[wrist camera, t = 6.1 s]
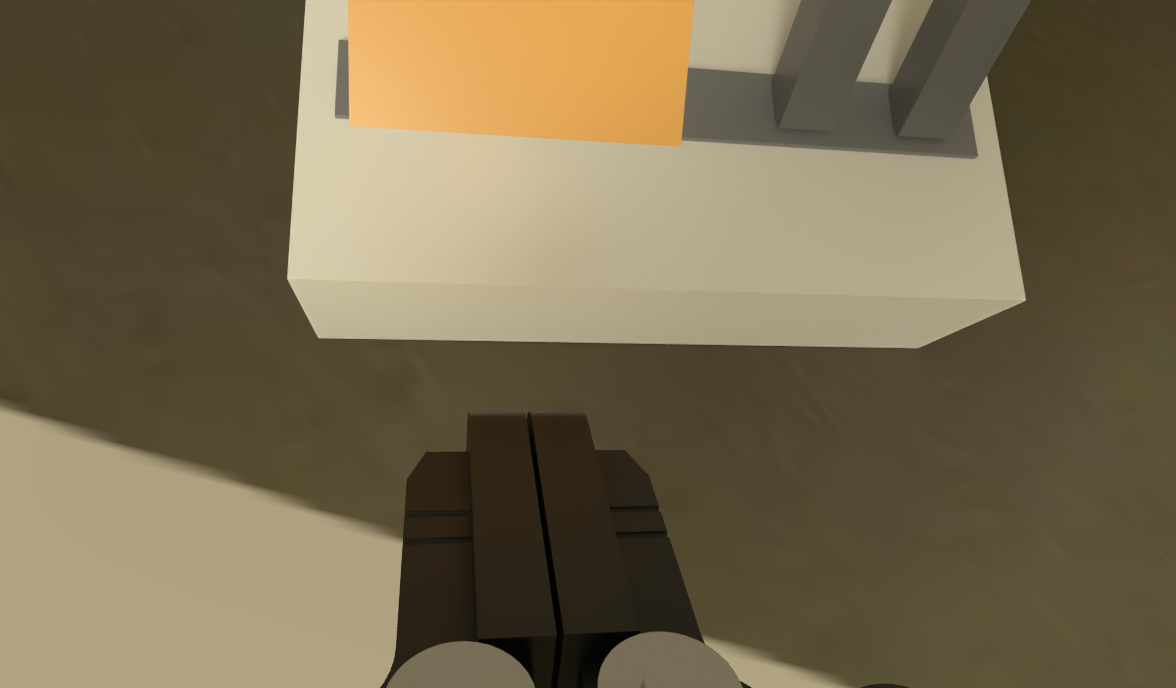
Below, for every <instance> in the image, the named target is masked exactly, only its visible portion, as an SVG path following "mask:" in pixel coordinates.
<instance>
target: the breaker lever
mask: <svg viewBox="0 0 1176 688" xmlns="http://www.w3.org/2000/svg"><path fill="white" fill-rule="evenodd" d="M693 6H694V0H348V55H349V126H357V127H373V128H389V129H406V130H422V131H438V132H454V133H470V134H486V135H502V136H518V137H534V138H550V139H566V140H582V141H599V142H615V143H631V144H647V145H663V146H679V147H681V140H682V129H683V117H684V106H685V95H686V84H687V73H688V62H689V51H690V40H691V29H692V17H693Z"/></svg>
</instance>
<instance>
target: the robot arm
mask: <svg viewBox="0 0 1176 688" xmlns="http://www.w3.org/2000/svg"><path fill="white" fill-rule="evenodd" d="M380 688H751V687H750V686H748V685H746V684H744V683H743V682H741V681H739V679H738V677H737V675H736V674H735V672H734V670H733V669H732V668H731V666H730V665H729V664H728V663H727V662H726V661H725V660H724V659H723V658H722V657H721V656H720V655H719V654H718V653H717V652H716V651H714V650H713V649H712V648H710V647H709V646H707V645H705V643H704V641H703V638H702V636H701V633H700V631H699V628H698V624H697V621H696V618H695V615H694V612H693V609H692V606H691V603H690V600H689V597H688V594H687V591H686V588H685V585H684V582H683V579H682V576H681V573H680V569H679V566H678V563H677V560H676V557H675V554H674V551H673V548H672V545H671V542H670V539H669V537H667V530H666V527H665V524H664V521H663V518H662V514H661V512H659V505H658V502H657V499H656V496H655V493H654V490H653V487H652V484H651V481H650V478H649V475H648V474H647V473H646V472H645V471H644V470H643V469H642V468H641V467H640V466H639V465H638V464H637V463H636V462H635V461H634V460H633V458H632V457H631V456H630V455H629V454H628V453H627V452H626V451H625V450H595V448H594V444H593V440H592V436H591V432H590V428H589V424H588V420H587V417H586V414H585V413H584V412H528V415H527V420H526V415H525V412H468V421H467V446H466V452H426V453H425V454H424V456H423V457H422V459H421V460H420V461H419V463H418V464H417V466H416V467H415V469H414V470H413V472H412V473H411V474H410V476H409V477H408V479H407V486H406V502H405V518H404V532H403V548H402V563H401V579H400V595H399V609H398V626H397V640H396V651H395V657H394V662H393V664H392V667H391V670H390V672H389V674H388V676H387V678H386V680H385V682H384V683H383V685H382V686H381V687H380ZM862 688H908V687H904V686H899V685H894V684H874V685H868V686H865V687H862Z"/></svg>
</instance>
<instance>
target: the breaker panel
mask: <svg viewBox="0 0 1176 688" xmlns="http://www.w3.org/2000/svg"><path fill="white" fill-rule="evenodd" d="M1030 1H1031V0H694V6H693V17H692V29H691V40H690V51H689V62H688V73H687V84H686V95H685V106H684V117H683V129H682V140H681V147H679V146H663V145H647V144H631V143H615V142H599V141H582V140H566V139H550V138H534V137H518V136H502V135H486V134H470V133H454V132H438V131H422V130H406V129H389V128H373V127H357V126H349V55H348V0H306V6H305V21H304V36H303V51H302V66H301V81H300V96H299V111H298V126H297V141H296V156H295V171H294V186H293V201H292V216H291V231H290V246H289V261H288V276H287V279H288V281H289V283H290V285H291V287H292V289H293V291H294V293H295V294H296V296H297V298H298V300H299V302H300V304H301V306H302V308H303V310H304V312H305V313H306V315H307V317H308V319H309V321H310V323H311V325H312V327H313V329H314V331H315V332H316V334H317V336H318V338H346V339H405V340H464V341H523V342H582V343H641V344H700V345H759V346H818V347H877V348H919V347H922V346H924V345H926V344H929V343H931V342H933V341H935V340H938V339H940V338H942V337H944V336H947V335H949V334H951V333H953V332H956V331H958V330H960V329H963V328H965V327H967V326H969V325H972V324H974V323H976V322H978V321H981V320H983V319H985V318H987V317H990V316H992V315H994V314H997V313H999V312H1001V311H1003V310H1006V309H1008V308H1010V307H1012V306H1015V305H1017V304H1019V303H1021V302H1024V301H1026V298H1025V292H1024V287H1023V281H1022V275H1021V269H1020V264H1019V258H1018V252H1017V246H1016V240H1015V235H1014V229H1013V223H1012V217H1011V212H1010V206H1009V200H1008V194H1007V189H1006V183H1005V177H1004V171H1003V165H1002V160H1001V154H1000V148H999V142H998V137H997V131H996V125H995V119H994V114H993V108H992V102H991V96H990V90H989V85H988V79H987V75H988V73H989V71H990V69H991V68H992V66H993V64H994V63H995V61H996V59H997V57H998V56H999V54H1000V52H1001V51H1002V49H1003V47H1004V45H1005V44H1006V42H1007V40H1008V39H1009V37H1010V35H1011V34H1012V32H1013V30H1014V28H1015V27H1016V25H1017V23H1018V22H1019V20H1020V18H1021V16H1022V15H1023V13H1024V11H1025V10H1026V8H1027V6H1028V4H1029V3H1030Z"/></svg>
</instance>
